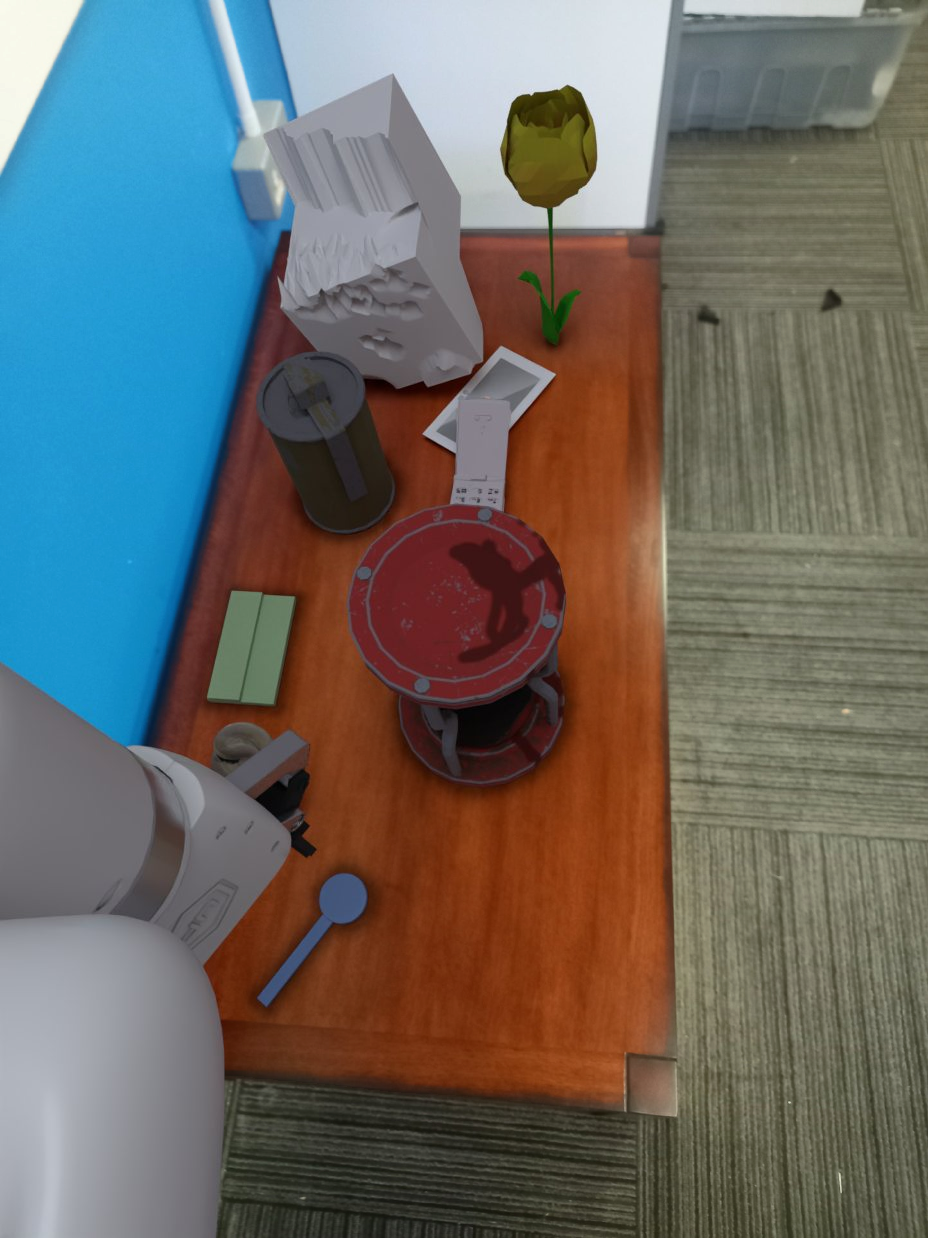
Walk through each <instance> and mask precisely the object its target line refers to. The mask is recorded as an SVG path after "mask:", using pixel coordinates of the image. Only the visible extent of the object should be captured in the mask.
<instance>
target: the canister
mask: <svg viewBox="0 0 928 1238" xmlns="http://www.w3.org/2000/svg"><path fill="white" fill-rule="evenodd" d="M255 408H256V412H257V417H258V419H259V420H260V422H261V424H262V425H263V426H264V428H265V429H266V430H267V431H268V433H269V436H270V438H271V440H272V442H273V444H274V445H275V448H276V450H277V452H278V454H279V456H280V458H281V460H282V462H283V464H284V466H285V468H286V470H287V472H288V474H289V476H290V479H291V480H292V483H293V485H294V487H295V489H296V491H297V493H298V494H299V497H300V499H301V502H302V505H303V509H304V511H305V513H306V516H307V517H308V518H309V520H310V521H311V522H312V523H313V524H314V525H315V526H317V527H318V528H320V529H322V530H324V531H326V532H330V533H333V534H338V535H339V534H340V535H348V534H349V535H350V534H356V533H359V532H362V531H363V532H364V531H365V530H367V529H369V528H371V527H373V526H374V525H376V524H378V522H380V521H381V520H382V519H383V518H384V517H385V515H387V513H388V512H389V510H390V508H391V507H392V506H393V504H394V503H393V502H394V500H395V495H396V485H395V480H394V479H395V478H394V475H393V474H392V471H391V470H390V469H389V467H388V463H387V460H386V457H385V454H384V450H383V447H382V445H381V440H380V438H379V434H378V430H377V427H376V423H375V422H374V421H375V420H374V418H373V415H372V412H371V408H370V405H369V402H368V399H367V395H366V384H365V379H363V377H362V375H361V373H360V371H359V370H358V368H357V367H356V366H355V365H354V364H353V363H352V362H350V361H349V360H348V359H346V358H344V357H342V356H340V355H338V354H334V353H330V352H321V351H317V350H315V351H307V352H302V353H299V354H295V355H293V356H291V357H288V358H286V359H284V360H282V361H280V362H279V363H278V364H276V365H275V366H274V367H272V369H271V370H270V371H269V372H268V373H267V374H266V375H265V377H264V378H263V379H262V381H261V383H260V385H259V387H258V389H257V392H256V396H255Z"/></svg>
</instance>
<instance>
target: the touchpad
mask: <svg viewBox="0 0 928 1238" xmlns="http://www.w3.org/2000/svg"><path fill="white" fill-rule="evenodd" d="M556 375H557V374H556V373H555V372H553V371H551V370H548V369H547V368H545V367H543V366H541V365H539V364H537V363H535V362H534V361H531V360H529V359H528V358H526V357H525V356H522V355H520V354H518V353H516V352H514V351H512V350H511V349H508V348H506V347H504V346H502V345H500V346H499V347H498V348H497V349H496V350H495V352H494V353H493V354H492V355H491V356H490V357H489V358H488V359H487V361H486V362H485V363H484V364H483V365H482V366H481V367H480V368H479V370H478V371H477V372H475V374H474V375H473V376H472V378H470V380H468V382H466V384H465V385H464V386H463V387H462V388H461V390H460V391H459V392H458V393H457V394H456V396H454V398H453V399H452V400H451V401H450V402H449V403H448V404H447V406H445V408H443V410H442V411H441V413H440V414H439V415H438V416H437V417H436V418H435V419H434V420H433V421H432V422H431V423H430V425H429V426H428V427H427V428H426V429H425V430H424V431H423V433H422V435H423V436H425V437H426V438H428V439H430V440H431V441H433V442H434V443H437V444H438V445H440V446H441V447H443V448H445V449H447V450H449V451H451V452H452V453H454V454H456V434H457V421H456V409H457V408H458V401H459V400H463V399H498V400H508V401H510V410H511V421H510V422H509V430H510V429H511V428H512V427H513V426H514V425H515V423H517V421H518V420H519V419H520V417H521V416H522V415H523V414H525V412H526V410H528V408H529V407H530V406H531V405H532V404H533V402H534V401H535V400H536V399H537V398H538V396H539V395H540V394H541V393H542V392H543V391H544V390H545V388H547V386H548V385H549V383H551V381H552V380H553V379H554V377H555V376H556ZM509 416H510V413H509Z"/></svg>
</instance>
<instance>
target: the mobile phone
mask: <svg viewBox="0 0 928 1238" xmlns="http://www.w3.org/2000/svg"><path fill="white" fill-rule="evenodd" d="M509 413H510V416H509ZM456 421H457V434H456V453H455V466H456V472H455V474H454V475H453V485H452V491H451V496H450V502H449V504H455V503H459V504H470V505H481V506H490V507H492V508H495V509H497V510H500V511H502V512H505V503H506V501H505V500H506V499H505V492H506V470H507V457H508V443H509V431H510V429H509V422H510V421H511V410H510V401H508V400H498V399H463V400H459V401H458V408H457V409H456Z"/></svg>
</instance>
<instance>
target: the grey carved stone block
mask: <svg viewBox="0 0 928 1238" xmlns="http://www.w3.org/2000/svg"><path fill="white" fill-rule="evenodd" d="M262 136H263V139H264V141H265V143H266V146H267V148H268V151H269V152H270V154H271V157H272V159H273V161H274V163H275V165H276V167H277V170H278V172H279V175H280V176H281V179H282V181H283V183H284V185H285V188H286V190H287V192H288V195H289V196H290V200H291V201H292V203H293V206H294V213H293V219H292V225H291V231H290V240H289V247H288V255H287V257H286V261H287V263H286V268H285V273H284V278H283V279H284V280H283V282H282V280H281V279H280V277H279V276H278V275H277V281H278V287H279V292H280V299H281V300H280V307H279V309H280V310H281V311H282V312H284V314H285V315H286V316H287V318H289V320H290V321H291V322H292V324H293V325H294V326H295V327H296V328H297V329H298V330H299V332H300V333H301V334H302V335H303V336H304V337H305V339H306V340H307V341H308V342H309V343H310V344H311V345H312V347H313V348H314V349H315V351H321V352H330V353H334V354H338V355H340V356H342V357H344V358H346V359H348V360H349V361H350V362H352V363H353V364H354V365H355V366H356V367H357V368H358V370H359V371H360V373H361V375H362V377H363V380H365V379H366V380H380V381H381V380H384V381H386V382H387V383H389V384H391V385H392V386H393V387H394V388H395V389H396V390H398V389H403V388H405V387H409V386H412V385H415V384H418V383H422V382H424V384H425V386H426V387H427V388H430V387H433V386H437V385H439V384H443V383H446V382H449V381H451V380H455V379H458V378H462V377H466V376H469V375H471V374H472V372H473V368H475V366H476V365H478V364H481V363H483V362H484V329H483V323H482V320H481V317H480V313H479V311H478V307H477V305H476V302H475V298H474V296H473V294H472V291H471V290H472V289H471V288H470V284H469V282H468V278H467V276H466V273H465V272H466V271H465V270H464V267H463V264H462V261H461V258H460V257H461V256H460V255H461V254H460V253H461V220H462V219H461V214H462V213H461V212H462V195H461V193H460V192H459V190H458V187H457V186H456V185H455V182H454V181H453V179H452V177H451V175H450V173H449V171H448V170H447V168H446V166H445V164H444V163H443V161H442V159H441V157H440V156H439V154H438V152H437V150H436V148H435V146H434V145H433V142H432V141H431V138H430V137H429V136H428V133H427V132H426V130H425V128H424V127H423V125H422V123H421V121H420V119H419V118H418V115H417V114H416V111H414V108H413V106H412V105H411V103H410V101H409V99H408V97H407V95H406V94H405V92H404V90H403V88H402V87H401V85H400V83H399V81H398V79H397V78H396V76H395V74H394V73H390V74H387V75H386V76H384V77H381V78H379V79H377V80H375V81H373V82H371V83H368V84H367V85H365V86H362V87H359V88H358V89H356V90H354V91H351V92H350V93H347V94H346V95H343V96H342V97H339V98H337V99H334V100H332V101H331V102H328V103H326V104H323V105H321V106H320V107H318V108H315V109H313V110H310V111H309V112H307V113H305V114H303V115H301V116H299V117H296V118H294V119H293V120H289V121H288V122H286V123H284V124H283V123H282V124H281V125H279V126H277V127H275V128H272V129H271V130H269V131H266V132H265V133H263V135H262Z"/></svg>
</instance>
